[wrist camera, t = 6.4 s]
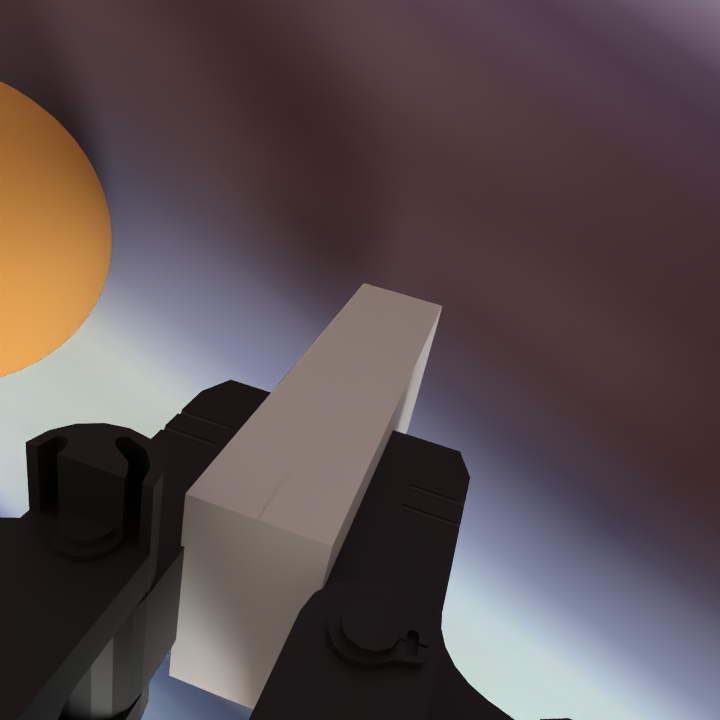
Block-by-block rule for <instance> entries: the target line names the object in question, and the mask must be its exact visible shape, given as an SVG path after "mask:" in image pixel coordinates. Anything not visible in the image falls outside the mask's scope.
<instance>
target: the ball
mask: <svg viewBox="0 0 720 720" xmlns="http://www.w3.org/2000/svg"><path fill="white" fill-rule="evenodd" d="M111 249H112V228H111V219H110V214H109V209H108V205H107V201H106V197H105V194H104V191H103V188H102V185H101V183H100V180H99V178H98V176H97V174H96V172H95V171H94V169H93V167H92V165H91V163H90V161H89V159H88V158H87V156H86V155H85V153H84V152H83V150H82V149H81V148H80V146H79V145H78V143H77V142H76V141H75V139H74V138H73V137H72V136H71V135H70V133H69V132H68V131H67V130H66V129H65V128H64V127H63V126H62V125H61V124H60V123H59V122H58V121H57V120H56V119H55V118H54V117H53V116H52V115H50V114H49V113H48V112H47V111H46V110H44V109H43V108H42V107H41V106H39V105H38V104H37V103H36V102H34V101H33V100H32V99H30V98H29V97H27V96H26V95H24V94H22V93H21V92H19V91H18V90H16V89H14V88H13V87H11V86H9V85H7V84H5V83H3V82H1V81H0V377H2V376H5V375H8V374H11V373H13V372H16V371H19V370H22V369H24V368H26V367H28V366H30V365H32V364H34V363H36V362H38V361H39V360H41V359H42V358H44V357H45V356H47V355H48V354H50V353H51V352H53V351H54V350H56V349H57V348H58V347H60V346H61V345H62V344H63V343H64V342H65V341H67V340H68V339H69V338H70V337H71V336H72V335H73V334H74V333H75V332H76V331H77V329H78V328H79V327H80V326H81V325H82V323H83V322H84V321H85V320H86V318H87V317H88V316H89V314H90V312H91V311H92V309H93V307H94V305H95V304H96V302H97V300H98V299H99V297H100V294H101V292H102V290H103V287H104V284H105V281H106V278H107V274H108V271H109V266H110V260H111Z"/></svg>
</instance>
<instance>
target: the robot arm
mask: <svg viewBox="0 0 720 720" xmlns="http://www.w3.org/2000/svg"><path fill="white" fill-rule="evenodd" d="M441 309H442V306H441V305H437V304H434V303H431V302H427V301H424V300H420V299H417V298H413V297H410V296H407V295H403V294H400V293H396V292H393V291H389V290H386V289H383V288H379V287H376V286H372V285H369V284H365V283H364V284H363V285H362V286H361V287H360V288H359V290H358V291H357V292H356V293H355V294H354V295H353V297H352V298H351V299H350V300H349V301H348V303H347V304H346V305H345V306H344V307H343V308H342V310H341V311H340V312H339V313H338V314H337V316H336V317H335V318H334V319H333V320H332V321H331V323H330V324H329V325H328V326H327V327H326V329H325V330H324V331H323V332H322V333H321V334H320V336H319V337H318V338H317V339H316V340H315V341H314V343H313V344H312V345H311V346H310V347H309V349H308V350H307V351H306V352H305V353H304V354H303V356H302V357H301V358H300V359H299V360H298V362H297V363H296V364H295V365H294V366H293V367H292V369H291V370H290V371H289V372H288V373H287V375H286V376H285V377H284V378H283V379H282V380H281V382H280V383H279V384H278V385H277V386H276V388H275V389H274V390H273V391H272V392H271V393H270V392H267V391H264V390H261V389H258V388H255V387H252V386H249V385H246V384H242V383H239V382H236V381H233V380H229V381H226V382H224V383H221V384H219V385H216V386H214V387H211V388H208V389H206V390H203V391H201V392H200V393H199V394H198V395H197V396H196V397H195V398H194V399H193V400H192V401H191V402H190V403H189V404H187V405H186V406H185V407H184V408H183V409H182V412H181V414H177V415H176V416H175V417H174V418H173V419H172V420H171V421H170V422H168V423H167V424H166V425H165V429H164V430H162V429H161V430H160V431H159V432H158V433H157V434H156V435H155V436H154V437H153V438H152V439H149V438H147V437H146V436H144V435H142V434H140V433H138V432H136V431H134V430H132V429H130V428H126V427H121V426H116V425H111V424H106V423H90V424H73V425H69V426H65V427H61V428H57V429H52V430H49V431H47V432H45V433H43V434H41V435H39V436H37V437H35V438H33V439H31V440H29V441H27V442H26V458H27V475H28V493H29V511H28V512H26V513H25V514H24V515H23V516H22V517H21V518H0V720H141V718H142V715H143V713H144V710H145V708H146V705H147V703H148V694H149V681H150V679H151V678H152V676H153V675H154V673H155V672H156V670H157V669H158V667H159V665H160V664H161V662H162V661H163V659H164V658H165V656H166V655H167V653H168V652H169V650H170V649H171V660H170V671H169V676H172V677H174V678H176V679H179V680H181V681H184V682H186V683H189V684H191V685H194V686H196V687H199V688H201V689H204V690H206V691H208V692H211V693H213V694H216V695H218V696H221V697H223V698H226V699H228V700H231V701H233V702H236V703H238V704H240V705H243V706H245V707H248V708H250V709H253V712H252V714H251V716H250V718H249V720H514V719H513V718H511V717H510V716H509V715H507V714H506V713H504V712H503V711H502V710H500V709H499V708H498V707H496V706H495V705H494V704H492V703H491V702H489V701H488V700H487V699H486V698H485V697H483V696H482V695H481V694H480V693H479V692H478V691H477V690H475V689H474V688H473V687H472V686H471V685H470V684H469V683H468V682H467V681H466V679H465V678H464V677H463V676H462V674H461V673H460V672H459V671H458V669H457V668H456V667H455V665H454V663H453V661H452V659H451V657H450V655H449V653H448V651H447V649H446V647H445V643H444V639H443V635H442V630H441V622H442V610H443V605H444V601H445V596H446V591H447V586H448V581H449V576H450V572H451V567H452V562H453V557H454V552H455V547H456V543H457V538H458V533H459V527H460V523H461V519H462V514H463V509H464V503H465V499H466V494H467V490H468V485H469V480H470V476H469V473H468V471H467V468H466V466H465V463H464V461H463V458H462V455H461V453H460V452H459V451H456V450H453V449H450V448H447V447H444V446H441V445H438V444H435V443H432V442H429V441H426V440H422V439H419V438H416V437H413V436H410V435H407V434H406V432H407V430H408V427H409V423H410V420H411V416H412V412H413V409H414V405H415V402H416V398H417V395H418V391H419V388H420V384H421V380H422V377H423V373H424V370H425V366H426V363H427V359H428V355H429V352H430V348H431V345H432V341H433V338H434V334H435V331H436V327H437V323H438V320H439V316H440V313H441ZM171 647H172V648H171ZM540 720H572V719H569V718H563V719H540Z"/></svg>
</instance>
